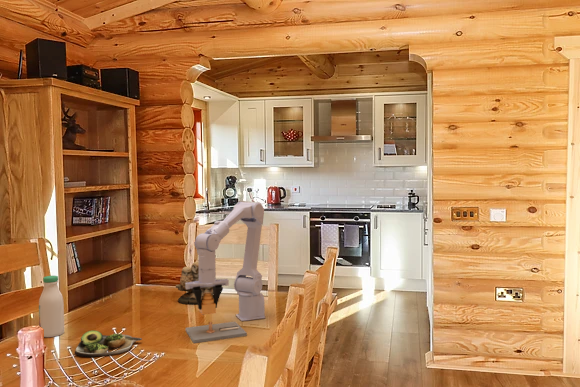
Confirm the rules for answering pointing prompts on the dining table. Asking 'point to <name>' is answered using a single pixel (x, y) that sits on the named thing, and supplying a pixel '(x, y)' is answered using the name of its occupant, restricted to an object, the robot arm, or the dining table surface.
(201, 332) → the grey peg board
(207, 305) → the wire nut
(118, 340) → the salad plate
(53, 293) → the milk bottle
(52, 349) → the dining table surface
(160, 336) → the dining table surface
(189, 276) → the owl figurine
